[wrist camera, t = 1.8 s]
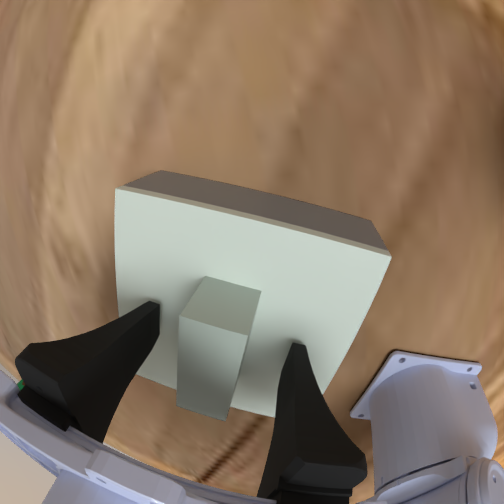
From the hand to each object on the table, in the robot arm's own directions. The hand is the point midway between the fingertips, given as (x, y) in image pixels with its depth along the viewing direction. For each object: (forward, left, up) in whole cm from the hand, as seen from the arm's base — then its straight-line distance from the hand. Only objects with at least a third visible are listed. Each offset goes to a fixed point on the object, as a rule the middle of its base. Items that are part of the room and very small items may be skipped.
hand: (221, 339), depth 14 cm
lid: (0, 0, -1) cm, 1 cm away
